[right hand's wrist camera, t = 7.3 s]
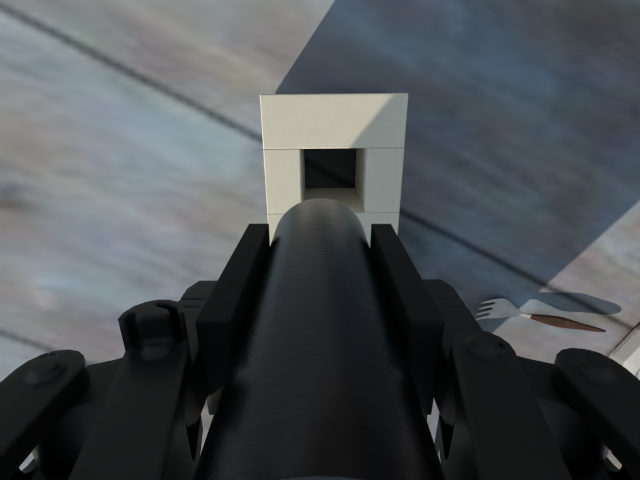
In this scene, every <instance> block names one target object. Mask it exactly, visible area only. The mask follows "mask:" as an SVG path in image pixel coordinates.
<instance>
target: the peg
mask: <svg viewBox="0 0 640 480" xmlns="http://www.w3.org/2000/svg"><path fill="white" fill-rule="evenodd" d="M192 480H446V478H445V475H444V472H443V469H442V466H441V463H440V460H439V457H438V454H437V451H436V448H435V445H434V442H433V439H432V436H431V433H430V430H429V427H428V424H427V421H426V417H425V414H424V411H423V408H422V405H421V402H420V399H419V396H418V393H417V390H416V387H415V384H414V381H413V378H412V375H411V372H410V369H409V366H408V363H407V360H406V357H405V354H404V351H403V348H402V344H401V341H400V338H399V335H398V332H397V329H396V326H395V323H394V320H393V317H392V314H391V311H390V308H389V305H388V302H387V299H386V296H385V293H384V290H383V287H382V284H381V281H380V278H379V274H378V271H377V268H376V265H375V262H374V259H373V256H372V253H371V250H370V247H369V244H368V241H367V238H366V235H365V232H364V229H363V226H362V224H361V222H360V220H359V219H358V217H357V216H356V215H355V213H354V212H353V211H352V210H350V209H349V208H348V207H346V206H345V205H343V204H341V203H339V202H337V201H334V200H330V199H322V198H318V199H310V200H306V201H303V202H300V203H298V204H296V205H295V206H293V207H291V208H290V209H289V210H288V211H287V212H286V213H285V214H284V215H283V216H282V218H281V219H280V221H279V223H278V225H277V227H276V230H275V233H274V236H273V239H272V242H271V245H270V248H269V251H268V254H267V257H266V260H265V263H264V266H263V269H262V272H261V275H260V278H259V281H258V284H257V287H256V290H255V293H254V296H253V299H252V302H251V305H250V308H249V311H248V314H247V317H246V320H245V323H244V326H243V329H242V332H241V335H240V338H239V341H238V344H237V347H236V350H235V353H234V356H233V359H232V362H231V365H230V368H229V371H228V374H227V377H226V380H225V383H224V386H223V389H222V392H221V395H220V398H219V401H218V404H217V407H216V410H215V413H214V416H213V419H212V422H211V425H210V428H209V431H208V434H207V437H206V440H205V443H204V446H203V449H202V452H201V455H200V458H199V461H198V464H197V467H196V470H195V473H194V476H193V479H192Z"/></svg>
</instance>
